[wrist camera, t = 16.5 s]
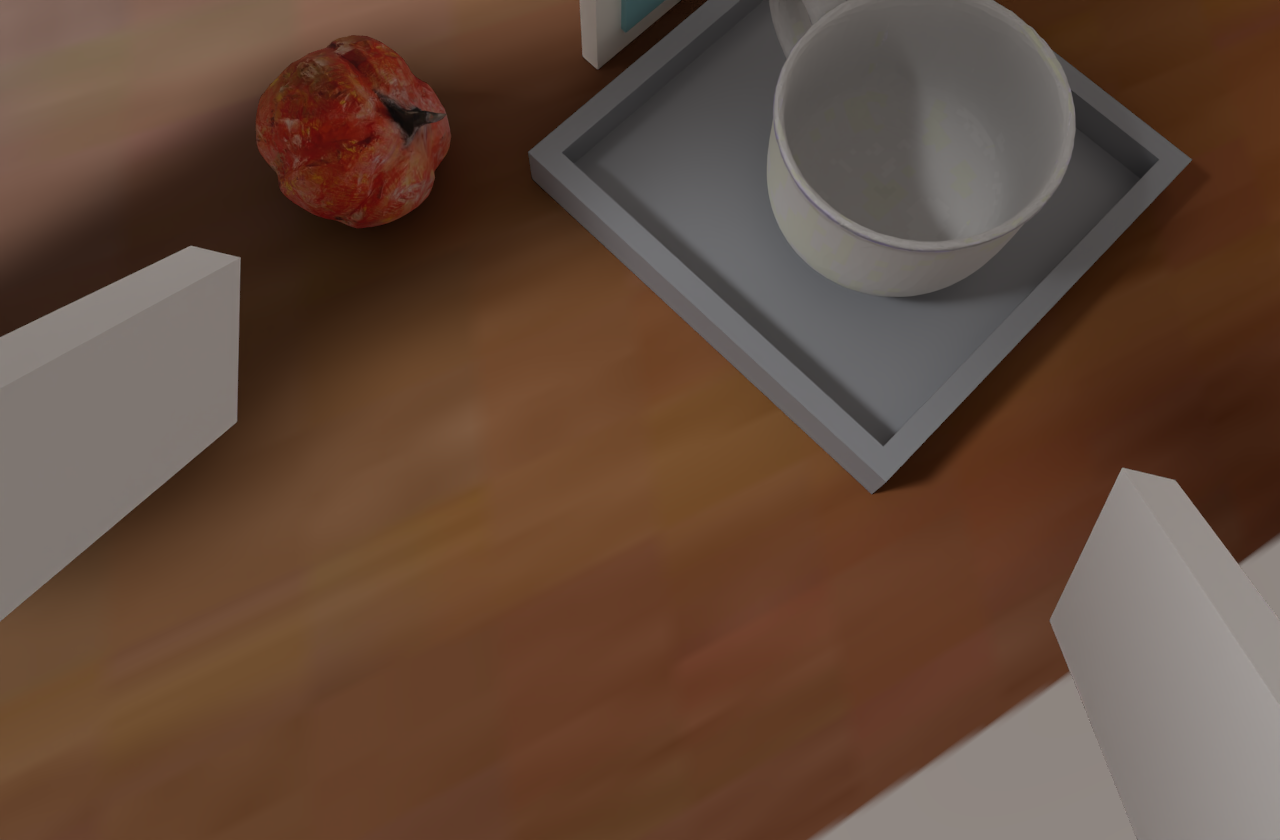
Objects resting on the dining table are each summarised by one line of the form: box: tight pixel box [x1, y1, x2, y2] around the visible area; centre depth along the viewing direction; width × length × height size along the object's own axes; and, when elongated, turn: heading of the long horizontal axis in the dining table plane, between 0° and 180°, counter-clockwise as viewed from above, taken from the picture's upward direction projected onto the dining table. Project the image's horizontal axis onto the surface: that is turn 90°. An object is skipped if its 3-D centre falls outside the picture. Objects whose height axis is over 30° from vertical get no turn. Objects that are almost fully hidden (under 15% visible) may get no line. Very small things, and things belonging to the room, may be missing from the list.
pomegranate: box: [256, 35, 451, 228], centre depth 41 cm, size 7×7×10 cm
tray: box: [528, 0, 1192, 494], centre depth 43 cm, size 20×20×2 cm
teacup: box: [767, 0, 1076, 297], centre depth 40 cm, size 14×11×8 cm
